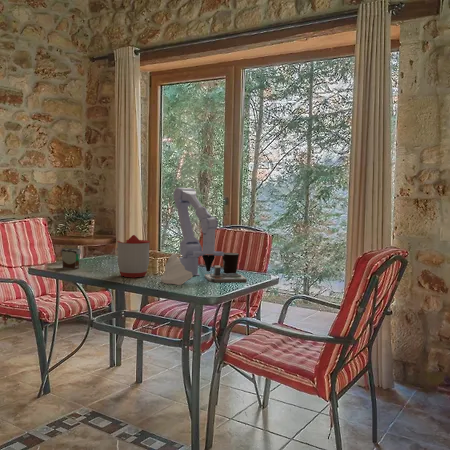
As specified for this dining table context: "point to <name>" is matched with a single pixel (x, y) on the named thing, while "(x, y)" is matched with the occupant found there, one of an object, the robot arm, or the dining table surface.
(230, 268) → the coffee mug
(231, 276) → the grey flat slab
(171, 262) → the beige faceted rock
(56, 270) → the dining table surface
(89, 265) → the dining table surface
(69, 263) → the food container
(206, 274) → the grey square tray
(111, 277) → the dining table surface
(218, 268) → the breaker lever
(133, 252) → the citrus juicer
